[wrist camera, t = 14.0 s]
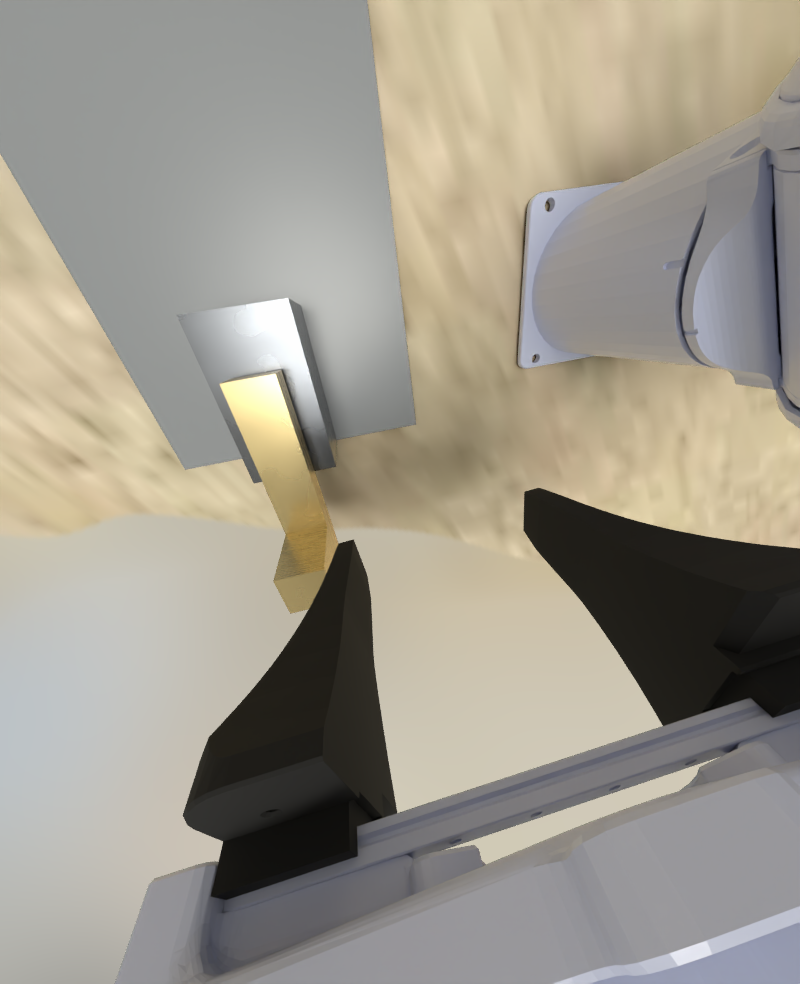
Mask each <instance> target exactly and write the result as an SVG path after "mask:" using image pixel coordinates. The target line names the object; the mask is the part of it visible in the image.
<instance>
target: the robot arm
mask: <svg viewBox="0 0 800 984" xmlns="http://www.w3.org/2000/svg"><path fill="white" fill-rule="evenodd" d="M546 201H548V202H549V203H550V209H549V211H548V212H547V211H546V210H545V203H546ZM534 355H536V359H535V361H534V362H532V357H533V356H534ZM592 356H605V357H614V358H624V359H633V360H643V361H652V362H661V363H671V364H680V365H690V366H699V367H708V368H719V369H724V370H727V371H729V372H730V373H731V374H732V375H733V377H734V380H735V383H736V384H738V385H745V386H753V387H760V388H767V389H774V390H776V400H777V404H778V407H779V409H780V411H781V412H782V413H783V415H784V416H785V417H786V419H787V420H789V421H790V422H791V423H793V424H794V425H795V426H797V427H798V428H800V57H799V58H798V60H797V61H796V63H795V64H794V66H793V67H792V69H791V70H790V72H789V73H788V74H787V76H786V77H785V78H784V79H783V80H782V81H781V83H780V84H779V85H778V86H777V87H776V88H775V90H774V91H773V93H772V94H771V96H770V97H769V99H768V100H767V102H766V103H765V105H764V106H763V109H762V110H761V111H759V112H758V113H756V114H754V115H752V116H750V117H748V118H746V119H744V120H742V121H740V122H738V123H736V124H734V125H732V126H731V127H729V128H727V129H725V130H723V131H721V132H719V133H717V134H715V135H713V136H711V137H709V138H707V139H705V140H704V141H702V142H700V143H698V144H696V145H694V146H692V147H690V148H688V149H686V150H684V151H682V152H680V153H678V154H677V155H675V156H673V157H671V158H669V159H667V160H665V161H663V162H661V163H659V164H657V165H655V166H653V167H652V168H650V169H648V170H646V171H644V172H642V173H640V174H638V175H636V176H634V177H632V178H630V179H628V180H626V181H623V182H615V183H608V184H601V185H593V186H586V187H578V188H571V189H563V190H556V191H549V192H541V193H539V194H537V195H535V196H534V197H533V198H532V199H531V200H530V202H529V204H528V207H527V218H526V234H525V250H524V266H523V282H522V298H521V314H520V330H519V346H518V365H519V367H521V368H526V369H527V368H533V367H538V366H543V365H549V364H554V363H560V362H565V361H570V360H576V359H581V358H586V357H592ZM524 532H525V533H526V535H527V536H528V538H529V539H530V541H531V542H532V544H533V545H534V547H535V548H536V550H537V551H538V552H539V553H540V554H541V556H542V557H543V558H544V559H545V560H546V561H547V562H548V564H549V565H550V566H551V567H552V568H553V569H554V570H555V571H556V573H557V574H558V575H559V576H560V577H561V578H562V579H563V580H564V581H565V583H566V584H567V585H568V586H569V587H570V588H571V589H572V590H573V592H574V593H575V594H576V595H577V596H578V598H579V599H580V600H581V601H582V602H583V604H584V605H585V607H586V608H587V609H588V611H589V612H590V613H591V615H592V616H593V617H594V619H595V620H596V622H597V623H598V624H599V626H600V627H601V629H602V630H603V631H604V633H605V634H606V636H607V637H608V639H609V640H610V642H611V643H612V645H613V646H614V648H615V649H616V650H617V652H618V654H619V655H620V657H621V658H622V659H623V661H624V663H625V664H626V666H627V667H628V669H629V670H630V672H631V674H632V675H633V677H634V678H635V680H636V681H637V683H638V685H639V686H640V688H641V690H642V691H643V693H644V695H645V696H646V698H647V700H648V701H649V703H650V705H651V706H652V708H653V709H654V711H655V713H656V715H657V716H658V718H659V720H660V721H661V723H662V725H663V726H662V727H659V728H656V729H653V730H650V731H647V732H644V733H641V734H638V735H635V736H632V737H628V738H625V739H622V740H619V741H617V742H613V743H610V744H607V745H604V746H601V747H598V748H595V749H592V750H589V751H586V752H583V753H580V754H577V755H574V756H571V757H567V758H564V759H561V760H558V761H555V762H552V763H549V764H546V765H543V766H540V767H537V768H534V769H531V770H528V771H525V772H522V773H519V774H516V775H513V776H510V777H506V778H504V779H501V780H497V781H495V782H491V783H488V784H485V785H482V786H479V787H476V788H473V789H470V790H467V791H464V792H461V793H458V794H455V795H451V796H448V797H446V798H442V799H439V800H436V801H433V802H430V803H427V804H424V805H421V806H418V807H415V808H412V809H409V810H406V811H403V812H400V813H397V809H396V803H395V797H394V791H393V785H392V780H391V774H390V768H389V762H388V756H387V750H386V743H385V736H384V730H383V724H382V717H381V710H380V704H379V697H378V690H377V682H376V675H375V668H374V656H373V636H372V613H371V597H370V590H369V584H368V577H367V574H366V571H365V568H364V566H363V563H362V560H361V558H360V555H359V552H358V550H357V547H356V545H355V542H354V540H350V541H346V542H343V543H340V544H338V546H337V548H336V550H335V553H334V556H333V558H332V561H331V563H330V566H329V568H328V571H327V573H326V575H325V577H324V580H323V582H322V584H321V586H320V588H319V590H318V592H317V594H316V596H315V598H314V600H313V602H312V604H311V606H310V608H309V610H308V611H307V613H306V615H305V617H304V619H303V620H302V622H301V624H300V625H299V627H298V628H297V630H296V632H295V633H294V635H293V636H292V638H291V639H290V641H289V642H288V643H287V645H286V646H285V648H284V649H283V651H282V652H281V654H280V655H279V657H278V658H277V659H276V661H275V662H274V663H273V665H272V666H271V667H270V668H269V670H268V671H267V672H266V673H265V675H264V676H263V677H262V678H261V680H260V681H259V682H258V683H257V685H256V686H255V687H254V688H253V689H252V691H251V692H250V693H249V694H248V695H247V696H246V698H245V699H244V700H243V701H242V702H241V703H240V704H239V705H238V706H237V708H236V709H235V710H234V711H233V712H232V713H231V714H230V715H229V716H228V718H226V720H225V721H224V722H223V723H222V724H221V725H220V726H219V727H218V728H217V729H216V730H215V732H213V734H212V735H211V736H210V737H209V739H208V741H207V744H206V746H205V749H204V752H203V754H202V757H201V760H200V763H199V766H198V770H197V772H196V776H195V779H194V782H193V785H192V788H191V791H190V794H189V798H188V801H187V804H186V807H185V810H184V813H183V817H184V819H185V821H186V823H187V825H188V826H190V827H192V828H193V829H195V830H197V831H200V832H202V833H204V834H207V835H209V836H211V837H214V838H216V839H219V840H221V841H223V846H222V850H221V854H220V859H219V862H206V863H202V864H198V865H195V866H192V867H189V868H186V869H183V870H179V871H176V872H173V873H170V874H168V875H164V876H161V877H158V878H155V879H154V880H153V881H152V882H151V883H150V884H149V886H148V889H147V892H146V894H145V897H144V901H143V903H142V906H141V909H140V912H139V915H138V918H137V921H136V924H135V926H134V929H133V932H132V935H131V938H130V941H129V944H128V947H127V950H126V952H125V955H124V958H123V961H122V964H121V967H120V970H119V973H118V975H117V979H116V981H115V984H800V549H799V548H789V547H779V546H769V545H760V544H752V543H745V542H738V541H731V540H724V539H718V538H712V537H706V536H700V535H695V534H690V533H685V532H680V531H675V530H670V529H666V528H662V527H658V526H654V525H650V524H646V523H642V522H638V521H634V520H631V519H627V518H624V517H621V516H618V515H615V514H611V513H608V512H605V511H602V510H599V509H596V508H594V507H591V506H588V505H585V504H582V503H580V502H577V501H574V500H572V499H569V498H566V497H564V496H561V495H558V494H555V493H553V492H550V491H547V490H544V489H541V488H536V489H533V490H529V491H526V492H525V494H524ZM718 757H719V758H718ZM715 758H717V759H716V760H713V761H711V762H709V763H707V764H705V765H703V766H701V767H700V768H699V770H698V773H697V776H696V777H695V778H694V779H693V780H692V781H691V782H690V783H689V784H688V785H686V786H685V787H684V788H683V789H681V790H680V791H678V792H675V793H672V794H669V795H665V796H662V797H659V798H656V799H653V800H650V801H647V802H644V803H641V804H638V805H635V806H632V807H630V808H627V809H624V810H621V811H618V812H616V813H613V814H610V815H608V816H605V817H602V818H600V819H597V820H594V821H591V822H589V823H586V824H584V825H581V826H579V827H576V828H574V829H571V830H569V831H566V832H564V833H561V834H559V835H556V836H554V837H552V838H549V839H547V840H544V841H542V842H539V843H537V844H535V845H532V846H530V847H528V848H525V849H523V850H520V851H518V852H515V853H513V854H510V855H508V856H506V857H503V858H501V859H498V860H496V861H494V862H491V863H489V864H487V865H486V864H485V863H484V862H483V861H482V860H481V856H480V852H479V849H478V848H477V847H476V846H475V845H471V846H465V847H460V848H454V849H448V850H445V849H447V848H450V847H453V846H456V845H460V844H463V843H465V842H468V841H471V840H474V839H477V838H480V837H483V836H486V835H489V834H492V833H495V832H498V831H501V830H504V829H507V828H510V827H513V826H516V825H519V824H522V823H525V822H528V821H531V820H534V819H537V818H540V817H543V816H546V815H548V814H551V813H555V812H557V811H561V810H563V809H566V808H569V807H572V806H575V805H578V804H581V803H584V802H587V801H590V800H593V799H596V798H599V797H602V796H605V795H608V794H611V793H614V792H617V791H620V790H623V789H626V788H629V787H632V786H635V785H638V784H641V783H644V782H647V781H650V780H653V779H655V778H658V777H661V776H664V775H667V774H670V773H673V772H676V771H679V770H682V769H685V768H688V767H691V766H694V765H697V764H700V763H703V762H706V761H709V760H712V759H715ZM442 850H443V851H442Z"/></svg>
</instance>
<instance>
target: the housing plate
mask: <svg viewBox="0 0 800 984" xmlns="http://www.w3.org/2000/svg"><path fill="white" fill-rule="evenodd" d="M0 154H1V156H2V157H3V159H4V161H5V162H6V164H7V166H8V168H9V169H10V171H11V173H12V174H13V176H14V178H15V179H16V181H17V183H18V185H19V186H20V188H21V190H22V191H23V193H24V195H25V197H26V198H27V200H28V202H29V203H30V205H31V207H32V209H33V210H34V212H35V214H36V215H37V217H38V219H39V221H40V222H41V224H42V226H43V227H44V229H45V231H46V232H47V234H48V236H49V238H50V239H51V241H52V243H53V244H54V246H55V248H56V250H57V251H58V253H59V255H60V256H61V258H62V260H63V262H64V263H65V265H66V267H67V268H68V270H69V272H70V274H71V275H72V277H73V279H74V280H75V282H76V284H77V286H78V287H79V289H80V291H81V292H82V294H83V296H84V297H85V299H86V301H87V303H88V304H89V306H90V308H91V309H92V311H93V313H94V315H95V316H96V318H97V320H98V321H99V323H100V325H101V327H102V328H103V330H104V332H105V333H106V335H107V337H108V339H109V340H110V342H111V344H112V345H113V347H114V349H115V350H116V352H117V354H118V356H119V357H120V359H121V361H122V362H123V364H124V366H125V368H126V369H127V371H128V373H129V374H130V376H131V378H132V380H133V381H134V383H135V385H136V386H137V388H138V390H139V392H140V393H141V395H142V397H143V398H144V400H145V402H146V403H147V405H148V407H149V409H150V410H151V412H152V414H153V415H154V417H155V419H156V421H157V422H158V424H159V426H160V427H161V429H162V431H163V433H164V434H165V436H166V438H167V439H168V441H169V443H170V445H171V446H172V448H173V450H174V451H175V453H176V455H177V457H178V458H179V460H180V462H181V463H182V465H183V467H184V468H185V470H186V469H191V468H196V467H201V466H206V465H211V464H216V463H222V462H227V461H232V460H237V459H243V461H244V463H245V465H246V467H247V470H248V472H249V474H250V476H251V478H252V480H253V483H258V482H262V479H261V477H260V475H259V473H258V470H257V468H256V466H255V464H254V461H253V459H252V457H251V455H250V452H249V450H248V448H247V445H246V443H245V441H244V439H243V436H242V434H241V432H240V430H239V427H238V425H237V423H236V421H235V418H234V416H233V414H232V411H231V409H230V407H229V405H228V402H227V400H226V398H225V396H224V393H223V391H222V389H221V387H220V383H222V382H224V381H226V380H229V379H232V378H238V377H243V376H249V375H255V374H261V373H266V372H272V371H278V370H282V373H283V376H284V379H285V383H286V386H287V389H288V392H289V395H290V398H291V401H292V404H293V407H294V410H295V413H296V416H297V419H298V422H299V425H300V428H301V431H302V434H303V437H304V440H305V443H306V446H307V449H308V453H309V456H310V459H311V462H312V465H313V468H314V471H317V470H322V469H327V468H332V467H336V453H337V440H339V439H344V438H349V437H354V436H359V435H364V434H369V433H374V432H380V431H385V430H390V429H395V428H400V427H405V426H410V425H415V424H416V419H415V411H414V402H413V393H412V385H411V376H410V368H409V359H408V350H407V342H406V333H405V324H404V316H403V307H402V298H401V290H400V281H399V272H398V264H397V255H396V246H395V238H394V229H393V220H392V212H391V203H390V194H389V186H388V177H387V168H386V160H385V151H384V143H383V134H382V125H381V117H380V108H379V99H378V91H377V82H376V73H375V65H374V56H373V47H372V39H371V30H370V21H369V13H368V4H367V0H0Z"/></svg>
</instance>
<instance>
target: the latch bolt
mask: <svg viewBox="0 0 800 984" xmlns="http://www.w3.org/2000/svg"><path fill="white" fill-rule="evenodd" d="M220 387H221V389H222V391H223V393H224V396H225V398H226V400H227V402H228V405H229V407H230V409H231V411H232V414H233V416H234V418H235V421H236V423H237V425H238V427H239V430H240V432H241V434H242V436H243V439H244V441H245V443H246V445H247V448H248V450H249V452H250V455H251V457H252V459H253V461H254V464H255V466H256V468H257V470H258V473H259V475H260V477H261V479H262V482H263V484H264V486H265V488H266V491H267V493H268V495H269V498H270V500H271V502H272V504H273V507H274V509H275V511H276V513H277V516H278V518H279V520H280V522H281V525H282V527H283V529H284V531H285V534H286V536H285V540H284V544H283V547H282V551H281V555H280V559H279V562H278V566H277V570H276V574H275V578H274V583H275V585H276V587H277V589H278V591H279V593H280V595H281V597H282V599H283V601H284V602H285V604H286V606H287V608H288V610H289V612H290V613H295V612H299V611H303V610H307V609H309V608H310V606H311V604H312V602H313V600H314V598H315V596H316V594H317V592H318V590H319V588H320V586H321V584H322V582H323V580H324V577H325V575H326V573H327V571H328V568H329V566H330V563H331V561H332V558H333V556H334V553H335V550H336V548H337V546H338V541H337V538H336V535H335V532H334V529H333V526H332V523H331V519H330V516H329V513H328V510H327V507H326V504H325V501H324V498H323V495H322V492H321V489H320V486H319V483H318V480H317V477H316V474H315V471H314V468H313V465H312V462H311V459H310V456H309V453H308V449H307V446H306V443H305V440H304V437H303V434H302V431H301V428H300V425H299V422H298V419H297V416H296V413H295V410H294V407H293V404H292V401H291V398H290V395H289V392H288V389H287V386H286V383H285V379H284V376H283V373H282V370H278V371H272V372H266V373H261V374H255V375H249V376H243V377H238V378H232V379H229V380H226V381H224V382H222V383H220Z"/></svg>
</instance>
